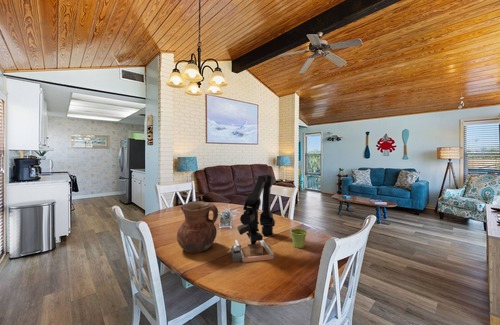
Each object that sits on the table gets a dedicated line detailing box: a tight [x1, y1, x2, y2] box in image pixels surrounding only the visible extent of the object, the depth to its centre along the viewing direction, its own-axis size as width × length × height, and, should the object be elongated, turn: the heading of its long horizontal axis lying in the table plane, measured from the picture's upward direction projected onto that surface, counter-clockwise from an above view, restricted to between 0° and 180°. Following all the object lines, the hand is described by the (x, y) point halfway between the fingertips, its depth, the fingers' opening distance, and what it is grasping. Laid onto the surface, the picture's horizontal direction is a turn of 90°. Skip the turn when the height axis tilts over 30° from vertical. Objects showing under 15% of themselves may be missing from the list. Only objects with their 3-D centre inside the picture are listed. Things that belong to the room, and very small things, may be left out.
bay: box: [234, 239, 275, 263], centre depth 119 cm, size 16×23×2 cm
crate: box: [246, 242, 264, 257], centre depth 115 cm, size 7×6×4 cm
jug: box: [176, 200, 219, 254], centre depth 122 cm, size 22×21×25 cm
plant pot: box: [290, 228, 308, 249], centre depth 125 cm, size 9×9×9 cm
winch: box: [227, 244, 243, 262], centre depth 108 cm, size 7×6×7 cm
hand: (252, 247), depth 120 cm, fingers closed
